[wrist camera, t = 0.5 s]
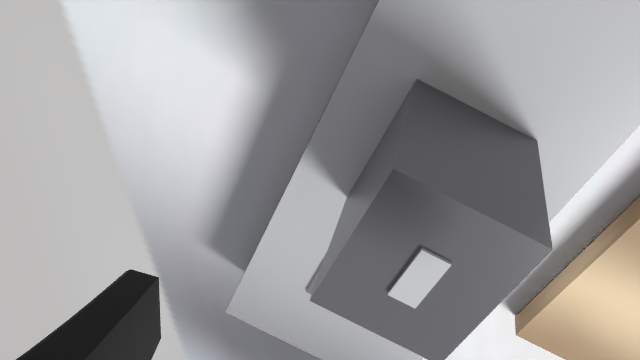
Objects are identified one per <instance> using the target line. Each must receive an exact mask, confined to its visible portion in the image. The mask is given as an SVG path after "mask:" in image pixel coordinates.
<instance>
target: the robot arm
mask: <svg viewBox="0 0 640 360" xmlns="http://www.w3.org/2000/svg"><path fill="white" fill-rule="evenodd" d="M160 339H161V327H160V301H159V278H158V277H155V276H151V275H148V274H145V273H141V272H137V271H135V270H128V271H126V272H125V273H124V274H123V275H122V276H120V277H119V278H118V279H117V280H116V281H114V282H113V283H112V284H111V285H110V286H109V287H107V288H106V289H105V290H104V291H103V292H102V293H100V294H99V295H98V296H97V297H96V298H94V299H93V300H92V301H91V302H90V303H88V304H87V305H86V306H85V307H84V308H82V309H81V310H80V311H79V312H77V313H76V314H75V315H74V316H72V317H71V318H70V319H69V320H68V321H66V322H65V323H64V324H62V325H61V326H60V327H59V328H57V329H56V330H55V331H53V332H52V333H51V334H49V335H48V336H47V337H46V338H44V339H43V340H42V341H40V342H39V343H38V344H36V345H35V346H34V347H33V348H31V349H30V350H29V351H27V352H26V353H25V354H23V355H22V356H20V357H19V358H17V359H16V360H151V359H152V357H153V354H154V352H155V350H156V348H157V346H158V344H159V341H160Z"/></svg>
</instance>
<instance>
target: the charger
mask: <svg viewBox="0 0 640 360" xmlns="http://www.w3.org/2000/svg"><path fill="white" fill-rule="evenodd" d="M551 250H552V242H551V235H550V228H549V221H548V213H547V206H546V199H545V192H544V185H543V177H542V170H541V163H540V156H539V149H538V142H537V140H535V139H533V138H531V137H529V136H528V135H526V134H524V133H522V132H520V131H518V130H516V129H514V128H512V127H510V126H508V125H506V124H504V123H502V122H500V121H498V120H496V119H494V118H493V117H491V116H489V115H487V114H485V113H483V112H481V111H479V110H477V109H475V108H473V107H471V106H469V105H467V104H465V103H463V102H461V101H459V100H458V99H456V98H454V97H452V96H450V95H448V94H446V93H444V92H442V91H440V90H438V89H436V88H434V87H432V86H430V85H428V84H426V83H424V82H423V81H421V80H419V79H416V81H415V82H414V84H413V86H412V88H411V89H410V91H409V93H408V94H407V96H406V98H405V99H404V101H403V103H402V105H401V106H400V108H399V110H398V111H397V113H396V115H395V116H394V118H393V120H392V121H391V123H390V125H389V127H388V128H387V130H386V132H385V133H384V135H383V137H382V138H381V140H380V142H379V143H378V145H377V147H376V149H375V150H374V152H373V154H372V155H371V157H370V159H369V160H368V162H367V164H366V165H365V167H364V169H363V171H362V172H361V174H360V176H359V177H358V179H357V181H356V182H355V184H354V186H353V188H352V189H351V191H350V193H349V194H348V196H347V198H346V201H345V204H344V206H343V209H342V212H341V215H340V217H339V220H338V223H337V226H336V229H335V231H334V234H333V237H332V240H331V242H330V245H329V248H328V251H327V254H326V256H325V259H324V262H323V265H322V267H321V270H320V273H319V276H318V279H317V281H316V284H315V287H314V290H313V292H312V295H311V298H310V301H311V302H313V303H315V304H317V305H319V306H321V307H323V308H325V309H327V310H329V311H331V312H333V313H335V314H337V315H339V316H341V317H343V318H345V319H347V320H349V321H351V322H353V323H355V324H357V325H359V326H361V327H363V328H365V329H367V330H369V331H371V332H373V333H375V334H377V335H379V336H381V337H383V338H385V339H387V340H389V341H391V342H393V343H396V344H398V345H400V346H402V347H404V348H406V349H408V350H410V351H412V352H414V353H416V354H418V355H420V356H422V357H424V358H426V359H428V360H445V359H446V358H447V357H448V356H449V355H450V354H451V353H452V352H453V351H454V349H455V348H456V347H457V346H458V345H459V344H460V343H461V342H462V341H463V340H464V339H465V338H466V337H467V336H468V335H469V334H470V333H471V332H472V331H473V330H474V329H475V328H476V327H477V326H478V325H479V324H480V323H481V322H482V321H483V320H484V319H485V318H486V317H487V316H488V315H489V314H490V313H491V312H492V311H493V310H494V309H495V308H496V307H497V306H498V305H499V304H500V303H501V302H502V300H503V299H504V298H505V297H506V296H507V295H508V294H509V293H510V292H511V291H512V290H513V289H514V288H515V287H516V286H517V285H518V284H519V283H520V282H521V281H522V280H523V279H524V278H525V277H526V276H527V275H528V274H529V273H530V272H531V271H532V270H533V269H534V268H535V267H536V266H537V265H538V264H539V263H540V262H541V261H542V260H543V259H544V258H545V257H546V256H547V255H548V254H549V252H550V251H551Z"/></svg>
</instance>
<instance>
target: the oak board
mask: <svg viewBox="0 0 640 360" xmlns="http://www.w3.org/2000/svg"><path fill="white" fill-rule="evenodd" d="M515 327H516V335H517V336H519V337H521V338H523V339H525V340H527V341H529V342H531V343H533V344H535V345H537V346H539V347H541V348H543V349H545V350H547V351H549V352H551V353H553V354H555V355H557V356H559V357H561V358H563V359H565V360H640V196H639V197H638V198H637V199H636V200H635V201H634V202H633V203H632V204H631V205H630V206H629V207H628V208H627V209H626V210H625V211H624V212H623V213H622V214H620V215H619V216H618V217H617V218H616V219H615V220H614V221H613V222H612V223H611V224H610V225H609V226H608V227H607V228H606V229H605V230H604V231H603V232H602V233H601V234H600V235H599V236H598V237H597V238H596V239H595V240H594V241H593V242H592V243H591V244H590V245H588V246H587V247H586V248H585V249H584V250H583V251H582V252H581V253H580V254H579V255H578V256H577V257H576V258H575V259H574V260H573V261H572V262H571V263H570V264H569V265H568V266H567V267H566V268H565V269H564V270H563V271H562V272H561V273H560V274H559V275H558V276H557V277H555V278H554V279H553V280H552V281H551V282H550V283H549V284H548V285H547V286H546V287H545V288H544V289H543V290H542V291H541V292H540V293H539V294H538V295H537V296H536V297H535V298H534V299H533V300H532V301H531V302H530V303H529V304H528V305H527V306H526V307H525V308H523V309H522V310H521V311H520V312H519V313H518V314H517V315H516V316H515Z"/></svg>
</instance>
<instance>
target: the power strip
mask: <svg viewBox="0 0 640 360" xmlns="http://www.w3.org/2000/svg"><path fill="white" fill-rule="evenodd" d="M416 79H419V80H421V81H423V82H424V83H426V84H428V85H430V86H432V87H434V88H436V89H438V90H440V91H442V92H444V93H446V94H448V95H450V96H452V97H454V98H456V99H458V100H459V101H461V102H463V103H465V104H467V105H469V106H471V107H473V108H475V109H477V110H479V111H481V112H483V113H485V114H487V115H489V116H491V117H493V118H494V119H496V120H498V121H500V122H502V123H504V124H506V125H508V126H510V127H512V128H514V129H516V130H518V131H520V132H522V133H524V134H526V135H528V136H529V137H531V138H533V139H535V140H537V142H538V149H539V156H540V163H541V170H542V177H543V185H544V192H545V199H546V206H547V213H548V221H549V222H550V221H551V220H552V219H553V218H554V217H555V216H556V214H557V213H558V212H559V211H560V210H561V209H562V208H563V207H564V206H565V205H566V204H567V203H568V202H569V201H570V199H571V198H572V197H573V196H574V195H575V194H576V193H577V192H578V191H579V190H580V189H581V188H582V187H583V186H584V184H585V183H586V182H587V181H588V180H589V179H590V178H591V177H592V176H593V175H594V174H595V173H596V172H597V170H598V169H599V168H600V167H601V166H602V165H603V164H604V163H605V162H606V161H607V160H608V159H609V158H610V157H611V155H612V154H613V153H614V152H615V151H616V150H617V149H618V148H619V147H620V146H621V145H622V144H623V143H624V142H625V140H626V139H627V138H628V137H629V136H630V135H631V134H632V133H633V132H634V131H635V130H636V129H637V128H638V127H639V125H640V0H379V1H378V3H377V5H376V7H375V9H374V11H373V13H372V15H371V17H370V19H369V21H368V23H367V25H366V27H365V29H364V32H363V34H362V36H361V38H360V40H359V42H358V44H357V46H356V48H355V50H354V52H353V54H352V56H351V58H350V60H349V62H348V64H347V66H346V68H345V70H344V72H343V74H342V76H341V78H340V80H339V82H338V84H337V86H336V88H335V90H334V92H333V95H332V97H331V99H330V101H329V103H328V105H327V107H326V109H325V111H324V113H323V115H322V117H321V119H320V121H319V123H318V125H317V127H316V129H315V131H314V133H313V135H312V137H311V139H310V141H309V143H308V145H307V147H306V149H305V151H304V153H303V155H302V157H301V160H300V162H299V164H298V166H297V168H296V170H295V172H294V174H293V176H292V178H291V180H290V182H289V184H288V186H287V188H286V190H285V192H284V194H283V196H282V198H281V200H280V202H279V204H278V206H277V208H276V210H275V212H274V214H273V216H272V218H271V220H270V222H269V225H268V227H267V229H266V231H265V233H264V235H263V237H262V239H261V241H260V243H259V245H258V247H257V249H256V251H255V253H254V255H253V257H252V259H251V261H250V263H249V265H248V267H247V269H246V271H245V273H244V275H243V277H242V279H241V281H240V283H239V285H238V288H237V290H236V292H235V294H234V296H233V298H232V300H231V302H230V304H229V306H228V308H227V310H226V312H225V313H227V314H229V315H231V316H233V317H235V318H237V319H239V320H241V321H243V322H245V323H247V324H249V325H251V326H254V327H256V328H258V329H260V330H262V331H264V332H266V333H268V334H270V335H272V336H274V337H276V338H278V339H280V340H282V341H284V342H286V343H288V344H290V345H292V346H294V347H296V348H298V349H300V350H302V351H304V352H306V353H308V354H310V355H313V356H315V357H317V358H319V359H321V360H421V359H422V358H423V357H422V356H420V355H418V354H416V353H414V352H412V351H410V350H408V349H406V348H404V347H402V346H400V345H398V344H396V343H393V342H391V341H389V340H387V339H385V338H383V337H381V336H379V335H377V334H375V333H373V332H371V331H369V330H367V329H365V328H363V327H361V326H359V325H357V324H355V323H353V322H351V321H349V320H347V319H345V318H343V317H341V316H339V315H337V314H335V313H333V312H331V311H329V310H327V309H325V308H323V307H321V306H319V305H317V304H315V303H313V302H311V301H310V298H311V295H312V292H313V290H314V287H315V284H316V281H317V279H318V276H319V273H320V270H321V267H322V265H323V262H324V259H325V256H326V254H327V251H328V248H329V245H330V242H331V240H332V237H333V234H334V231H335V229H336V226H337V223H338V220H339V217H340V215H341V212H342V209H343V206H344V204H345V201H346V198H347V196H348V194H349V193H350V191H351V189H352V188H353V186H354V184H355V182H356V181H357V179H358V177H359V176H360V174H361V172H362V171H363V169H364V167H365V165H366V164H367V162H368V160H369V159H370V157H371V155H372V154H373V152H374V150H375V149H376V147H377V145H378V143H379V142H380V140H381V138H382V137H383V135H384V133H385V132H386V130H387V128H388V127H389V125H390V123H391V121H392V120H393V118H394V116H395V115H396V113H397V111H398V110H399V108H400V106H401V105H402V103H403V101H404V99H405V98H406V96H407V94H408V93H409V91H410V89H411V88H412V86H413V84H414V82H415V81H416Z"/></svg>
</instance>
